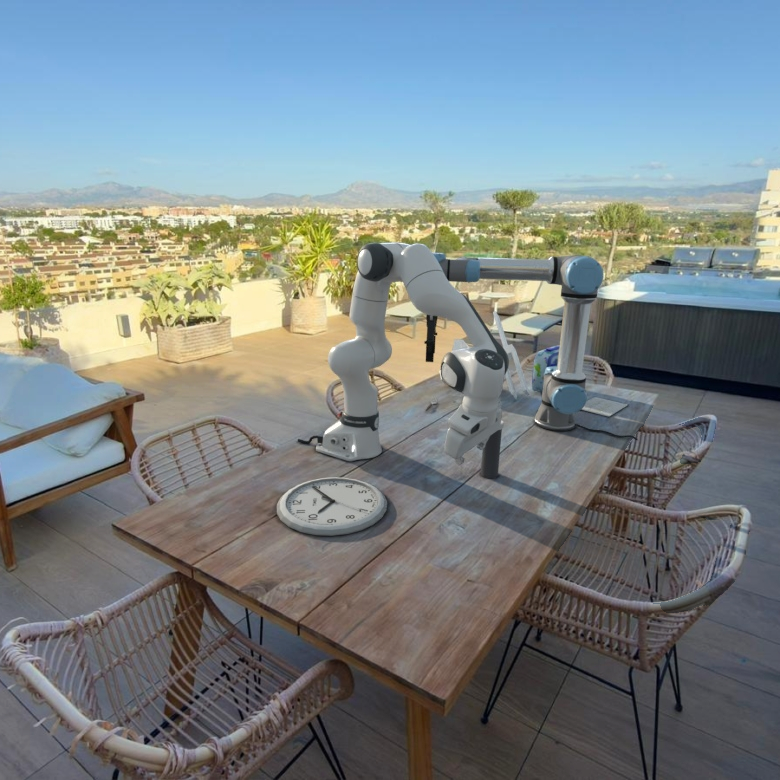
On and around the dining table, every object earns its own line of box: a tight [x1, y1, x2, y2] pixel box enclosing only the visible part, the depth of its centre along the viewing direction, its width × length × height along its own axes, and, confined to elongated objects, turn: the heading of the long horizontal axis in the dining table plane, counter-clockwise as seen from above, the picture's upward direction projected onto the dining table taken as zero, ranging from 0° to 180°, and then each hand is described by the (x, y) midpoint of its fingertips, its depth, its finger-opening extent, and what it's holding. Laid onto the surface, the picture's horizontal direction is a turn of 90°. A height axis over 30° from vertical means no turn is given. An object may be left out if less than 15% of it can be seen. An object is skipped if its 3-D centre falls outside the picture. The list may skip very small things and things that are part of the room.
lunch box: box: [531, 344, 560, 393], centre depth 245 cm, size 26×11×21 cm, turn 134°
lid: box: [498, 419, 504, 430], centre depth 157 cm, size 6×6×2 cm
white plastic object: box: [438, 310, 531, 400], centre depth 245 cm, size 37×45×31 cm
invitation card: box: [580, 396, 629, 418], centre depth 226 cm, size 21×1×15 cm
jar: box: [480, 429, 503, 479], centre depth 160 cm, size 5×5×17 cm
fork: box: [425, 396, 439, 412], centre depth 222 cm, size 3×16×2 cm, turn 160°
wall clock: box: [276, 476, 388, 537], centre depth 142 cm, size 30×2×30 cm
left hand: (470, 455), depth 138 cm, fingers open, 8 cm apart
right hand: (430, 357), depth 190 cm, fingers open, 13 cm apart
